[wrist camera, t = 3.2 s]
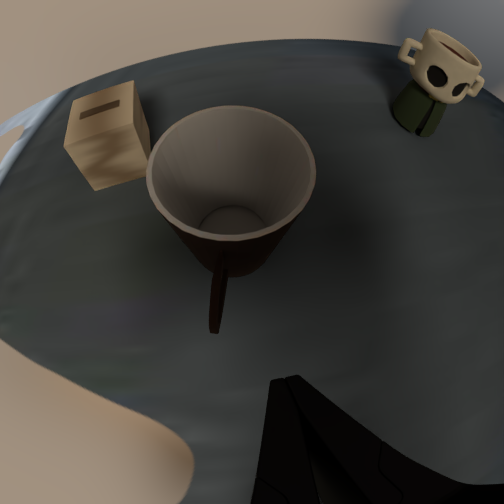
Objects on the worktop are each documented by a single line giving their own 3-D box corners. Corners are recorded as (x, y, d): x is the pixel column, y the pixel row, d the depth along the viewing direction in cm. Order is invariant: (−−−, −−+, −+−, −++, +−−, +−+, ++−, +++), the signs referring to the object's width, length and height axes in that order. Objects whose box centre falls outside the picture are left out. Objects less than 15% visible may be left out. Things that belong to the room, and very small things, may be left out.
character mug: (374, 124, 29) (418, 37, 17) (372, 91, 32) (405, 13, 20) (449, 155, 29) (503, 87, 17) (440, 119, 31) (482, 55, 19)
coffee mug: (217, 177, 25) (210, 89, 16) (304, 223, 24) (339, 145, 15) (137, 285, 22) (76, 236, 12) (230, 347, 21) (224, 340, 11)
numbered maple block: (92, 192, 25) (60, 146, 18) (95, 147, 26) (70, 100, 20) (153, 174, 25) (132, 121, 19) (149, 130, 27) (133, 79, 21)
